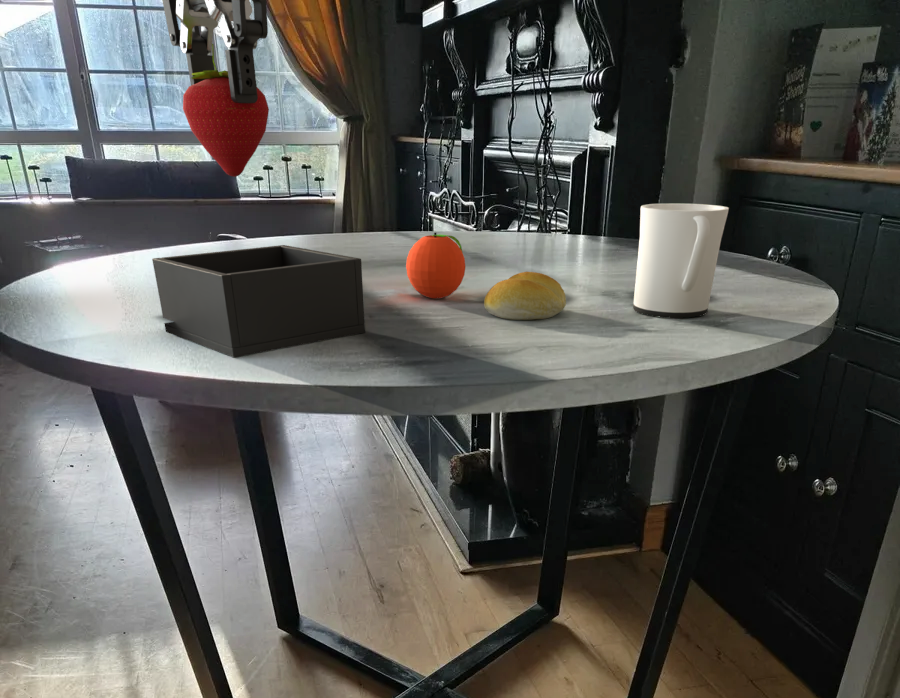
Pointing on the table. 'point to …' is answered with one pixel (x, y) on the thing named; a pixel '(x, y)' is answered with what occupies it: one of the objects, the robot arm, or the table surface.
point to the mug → (677, 258)
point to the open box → (260, 298)
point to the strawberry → (224, 120)
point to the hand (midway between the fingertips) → (225, 103)
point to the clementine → (436, 265)
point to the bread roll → (526, 297)
